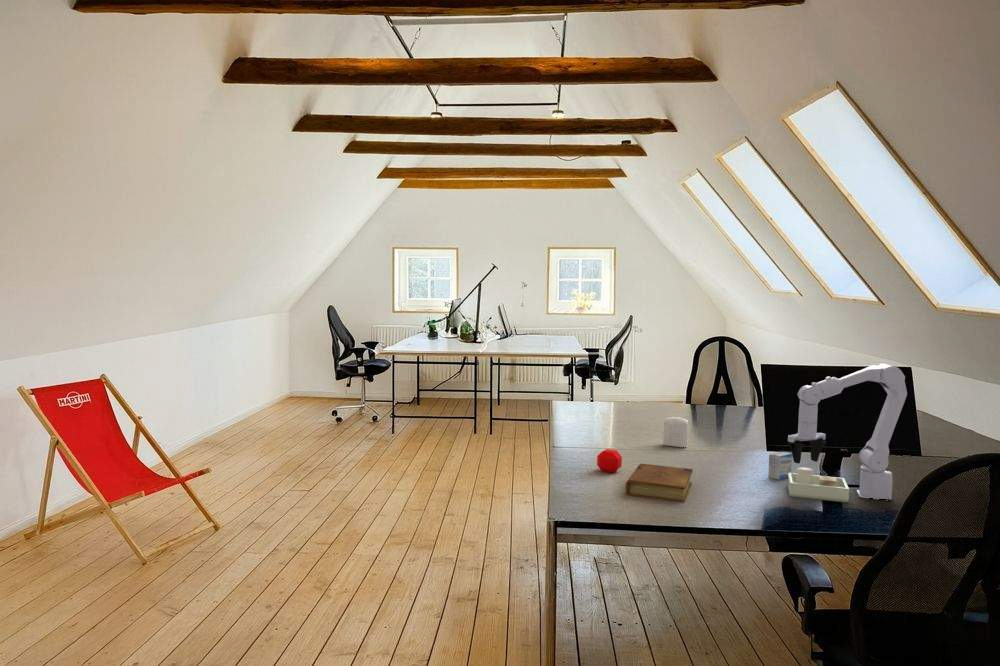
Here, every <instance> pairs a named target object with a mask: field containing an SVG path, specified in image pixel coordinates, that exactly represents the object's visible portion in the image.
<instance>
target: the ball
mask: <svg viewBox="0 0 1000 666" xmlns="http://www.w3.org/2000/svg"><path fill="white" fill-rule="evenodd" d="M596 457H597V459H596V465H597V467H598V469H600V471H601V472H602V471H603V473H608V472H610V473H609V474H613V473H615V472H616V471H617V470H619V469H621V468H622V466H623V465H622V461H623V457H622V455H621V454H620V453H619V451H618V450H615V449H610V448H606V449H603V450H602V451H601V452H600V453H599V454H598V455H597V456H596Z"/></svg>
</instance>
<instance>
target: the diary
mask: <svg viewBox="0 0 1000 666" xmlns="http://www.w3.org/2000/svg"><path fill="white" fill-rule="evenodd" d="M692 475H693V468H684V467H676V466H667V465H657V464H647V463H640V464H638V466H637V467H636V468H635V469H634V471H633V473H632V474H631V475H630V477H629V478H628V480H627V481H626V483H625V494H626V496H630V497H638V498H647V499H656V500H662V501H671V502H679V503H685V502H686V501H687V500H686V499H687V497H688V494H689V492H690V490H691V487H692V485H693V481H691V476H692ZM691 484H692V485H691ZM689 489H690V490H689Z"/></svg>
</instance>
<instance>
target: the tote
mask: <svg viewBox="0 0 1000 666" xmlns="http://www.w3.org/2000/svg"><path fill="white" fill-rule="evenodd" d="M819 476H820V475H819V474H818V475H817V474H816V475H815V474H813V485H812V484H802V483H797V472H791V473H788V478H787V489H788V494H789V495H788V496H789V497H792V498H793V497H794V498H803V499H810V500H811V499H813V500H819V501H831V502H840V503H849V500H850V498H849V496H850V487H849V486H848V484H847V482H846V479H845V478H844V477H835V476H834V477H835V478H836V480H837V487H832V486H822V485H819ZM825 476H826V477H829V476H827V475H825Z"/></svg>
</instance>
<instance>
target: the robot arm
mask: <svg viewBox="0 0 1000 666" xmlns="http://www.w3.org/2000/svg"><path fill="white" fill-rule="evenodd" d="M905 379H906V375H904V373H903V371H902V369H900V368H899V367H897V366H893V365H889V364H887V363H885V362H880V363H877V364H873V365H869V366H868V367H864V368H862V369H860V370H857V371H855V372H853V373H850V374H848V375H844V376H842V377H840V378H837V377H835V376H832V377H831V376H826V377H825V379H824V380H821V381H818V382H814V381H813V382H811V385H808V384H806V385H803V386H801V387H800V389H799V390H798V392H797V397H798V399H799V407H798V422H797V423H798V424H797V425H798V426H797V433H795V434H790V435H789V434H788V436H787V441H786V442H787V445H788V446H789V449H790V451H791V454H792V461H793V463H795V464H800V463H801V460H802V459H801V458H802V453H803V449H804V447H805V444H804V443H801V442H805V441H806V442H808V441H809V445H810V460H811V462H812V461H813V462H815V463H816V462H818V460H819V457H820V454H821V452H822V450H823V448H824V447H825V445H826V444H827V441H826V436H827V434H826V433H823V432H817V430H818V429H817V428H818V411H819V407H818V406H819V405H818V404H819V403H820V402H821V400H824V399H828V398H831V397H833V396H836V395H839V394H841V393H842V391H843V390H844V388H849V387H851V386H855V385H857V384H860V383H864V382H867V381H868V382H875V383H879V384H880V385H881V386H882V388H883V389H884V391H885V392H886V393H887V396H886V399H885V401H884V404H883V406H882V409H881V411H880V414H879V417H878V419H877V422H876V424H875V427H874V430H873V433H872V436H871V438H870V439H869V440H868V441H866V443H865V446H864V447H863V448H862V449H861V450H860V451H859V454H858V458H859V460H860V462H861V466H860V476H859V477H860V478H859V479H860V480H859V489H856V493H857V495H858V497H859V498H860V497H861V498H862V499H869V498H873V499H872V500H879V499H888V498H889V499H890V500H891V499H892V497H893V496H892V494H893V482H894V481H893V473H892V471H889V470H888V471H887V470H886V469H887V468H888V466H889V462H890V461H889V455H890V449H889V445H890V441H891V439H892V436H893V433H894V430H895V428H896V425H897V422H898V421H899V417H900V414H901V412H902V410H903V407H904V404H905V401H906V399H907V396H908V391H907V390H908V389H907V386H906V382H905Z"/></svg>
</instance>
